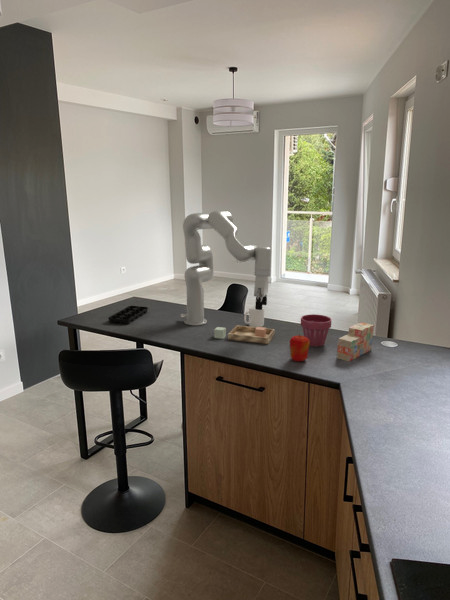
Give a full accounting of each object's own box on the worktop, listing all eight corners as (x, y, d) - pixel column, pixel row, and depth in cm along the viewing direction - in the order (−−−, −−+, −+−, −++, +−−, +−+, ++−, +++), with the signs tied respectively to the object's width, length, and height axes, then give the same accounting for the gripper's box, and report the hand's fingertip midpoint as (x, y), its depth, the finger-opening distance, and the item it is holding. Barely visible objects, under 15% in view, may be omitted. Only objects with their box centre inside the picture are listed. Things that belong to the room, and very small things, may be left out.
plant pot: (295, 345, 202) (297, 319, 199) (303, 337, 214) (305, 312, 211) (326, 350, 196) (328, 323, 193) (332, 341, 208) (334, 316, 205)
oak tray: (228, 339, 209) (228, 333, 208) (236, 330, 223) (236, 325, 222) (267, 344, 203) (268, 338, 202) (274, 334, 217) (274, 329, 216)
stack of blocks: (349, 362, 182) (351, 334, 179) (336, 358, 186) (338, 331, 184) (371, 349, 197) (374, 324, 195) (359, 346, 202) (361, 321, 199)
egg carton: (149, 311, 260) (149, 305, 259) (138, 326, 231) (138, 319, 230) (120, 311, 260) (120, 305, 259) (106, 325, 231) (106, 318, 230)
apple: (297, 365, 178) (299, 338, 175) (284, 358, 185) (285, 332, 182) (312, 361, 183) (314, 335, 180) (299, 355, 189) (301, 329, 187)
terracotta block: (254, 337, 210) (255, 329, 209) (257, 335, 214) (257, 326, 213) (263, 338, 209) (264, 330, 208) (265, 336, 213) (266, 327, 212)
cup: (266, 326, 231) (267, 308, 229) (248, 329, 225) (249, 311, 223) (258, 322, 238) (258, 305, 236) (240, 325, 232) (240, 307, 230)
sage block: (214, 338, 212) (214, 329, 211) (217, 335, 216) (217, 326, 215) (222, 339, 210) (223, 330, 209) (225, 336, 214) (225, 327, 213)
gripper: (259, 269, 213) (257, 302, 217) (250, 275, 197) (249, 310, 201) (273, 270, 211) (272, 303, 215) (266, 276, 195) (264, 312, 199)
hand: (261, 307), depth 208 cm, fingers open, 9 cm apart
